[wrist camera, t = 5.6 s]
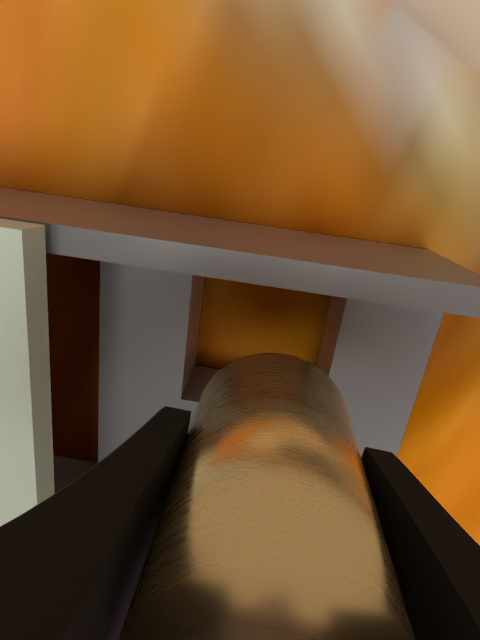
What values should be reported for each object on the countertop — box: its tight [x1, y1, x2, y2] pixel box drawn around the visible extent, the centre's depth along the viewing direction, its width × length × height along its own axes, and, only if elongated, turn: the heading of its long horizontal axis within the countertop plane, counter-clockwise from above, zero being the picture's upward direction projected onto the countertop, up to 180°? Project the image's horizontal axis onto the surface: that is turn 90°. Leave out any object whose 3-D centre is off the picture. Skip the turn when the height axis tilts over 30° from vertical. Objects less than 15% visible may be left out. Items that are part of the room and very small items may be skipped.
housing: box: [0, 187, 480, 493], centre depth 16 cm, size 14×24×6 cm, turn 82°
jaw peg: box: [118, 353, 415, 640], centre depth 8 cm, size 4×4×6 cm
